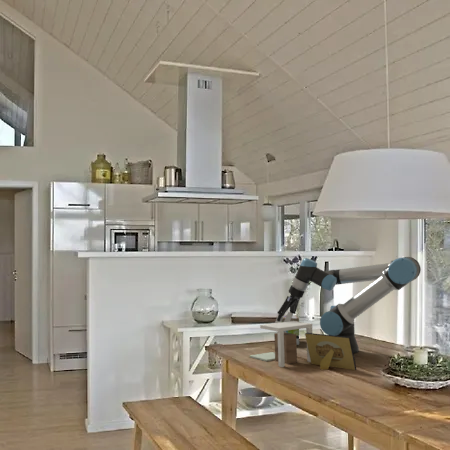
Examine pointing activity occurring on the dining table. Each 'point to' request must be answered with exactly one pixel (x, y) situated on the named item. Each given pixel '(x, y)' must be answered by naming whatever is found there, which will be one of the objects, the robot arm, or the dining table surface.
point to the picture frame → (330, 351)
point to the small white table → (280, 331)
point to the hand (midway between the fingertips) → (280, 325)
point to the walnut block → (287, 348)
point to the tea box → (295, 331)
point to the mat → (264, 356)
